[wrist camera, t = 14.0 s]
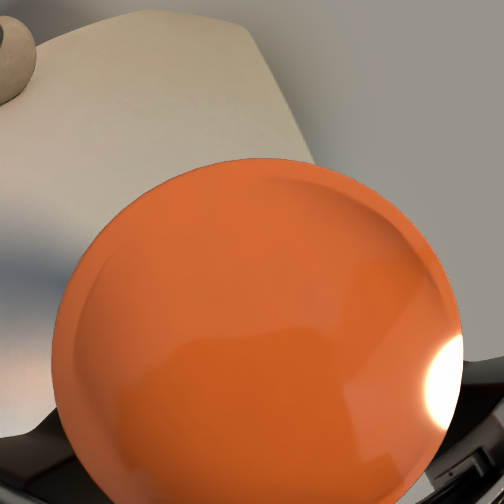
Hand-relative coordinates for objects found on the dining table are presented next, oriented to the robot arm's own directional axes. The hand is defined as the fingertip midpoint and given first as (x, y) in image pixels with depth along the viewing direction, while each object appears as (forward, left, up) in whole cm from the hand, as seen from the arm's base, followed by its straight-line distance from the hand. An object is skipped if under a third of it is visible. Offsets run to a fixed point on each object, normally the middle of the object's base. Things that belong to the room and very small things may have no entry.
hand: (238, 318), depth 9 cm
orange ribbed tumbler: (-1, 0, -7) cm, 7 cm away
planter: (+35, +39, -13) cm, 54 cm away
